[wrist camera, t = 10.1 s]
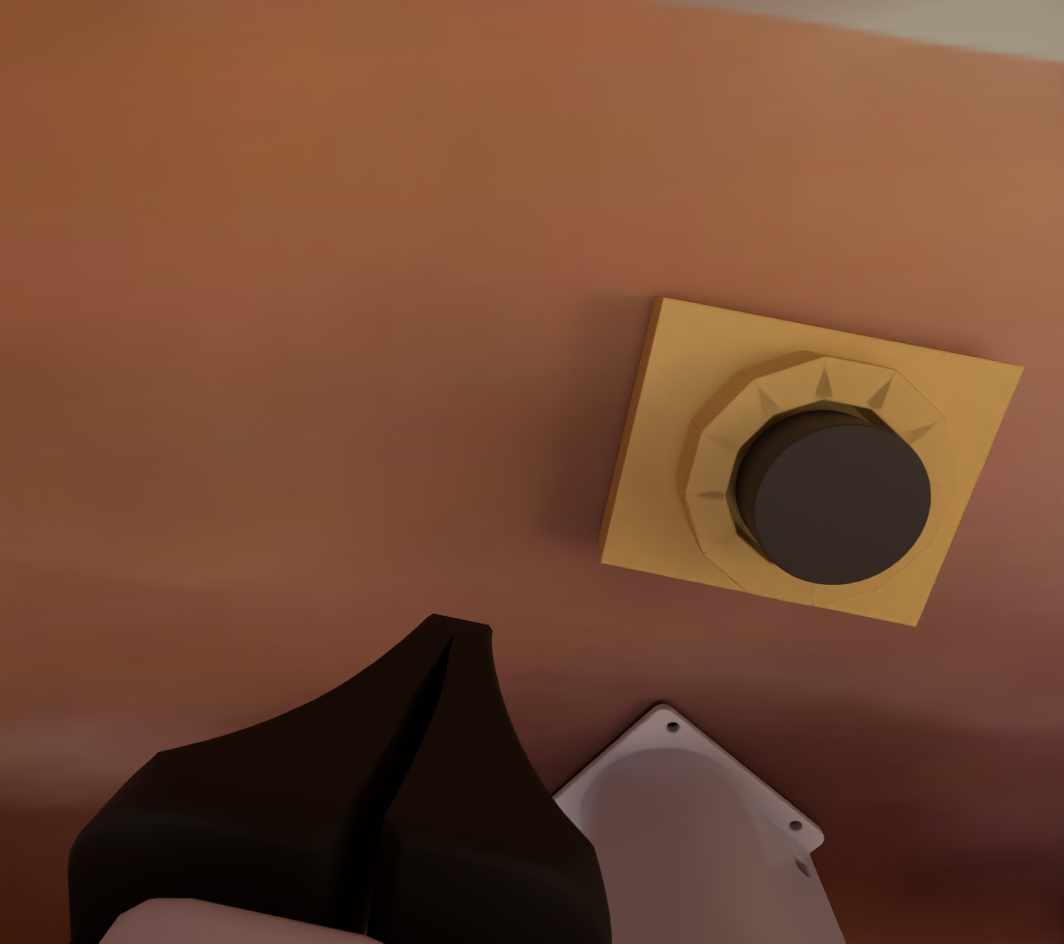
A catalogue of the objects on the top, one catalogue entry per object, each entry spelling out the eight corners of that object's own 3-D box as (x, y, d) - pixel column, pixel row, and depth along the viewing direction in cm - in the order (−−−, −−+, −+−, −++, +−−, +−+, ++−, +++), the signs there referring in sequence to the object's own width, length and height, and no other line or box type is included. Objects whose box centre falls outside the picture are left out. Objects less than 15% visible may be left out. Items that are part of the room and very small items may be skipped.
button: (917, 426, 18) (959, 443, 16) (863, 569, 19) (896, 600, 17) (759, 395, 18) (782, 408, 16) (717, 539, 19) (732, 567, 17)
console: (979, 359, 20) (1072, 374, 17) (885, 596, 23) (946, 657, 19) (655, 296, 21) (671, 297, 17) (598, 539, 23) (601, 587, 19)
